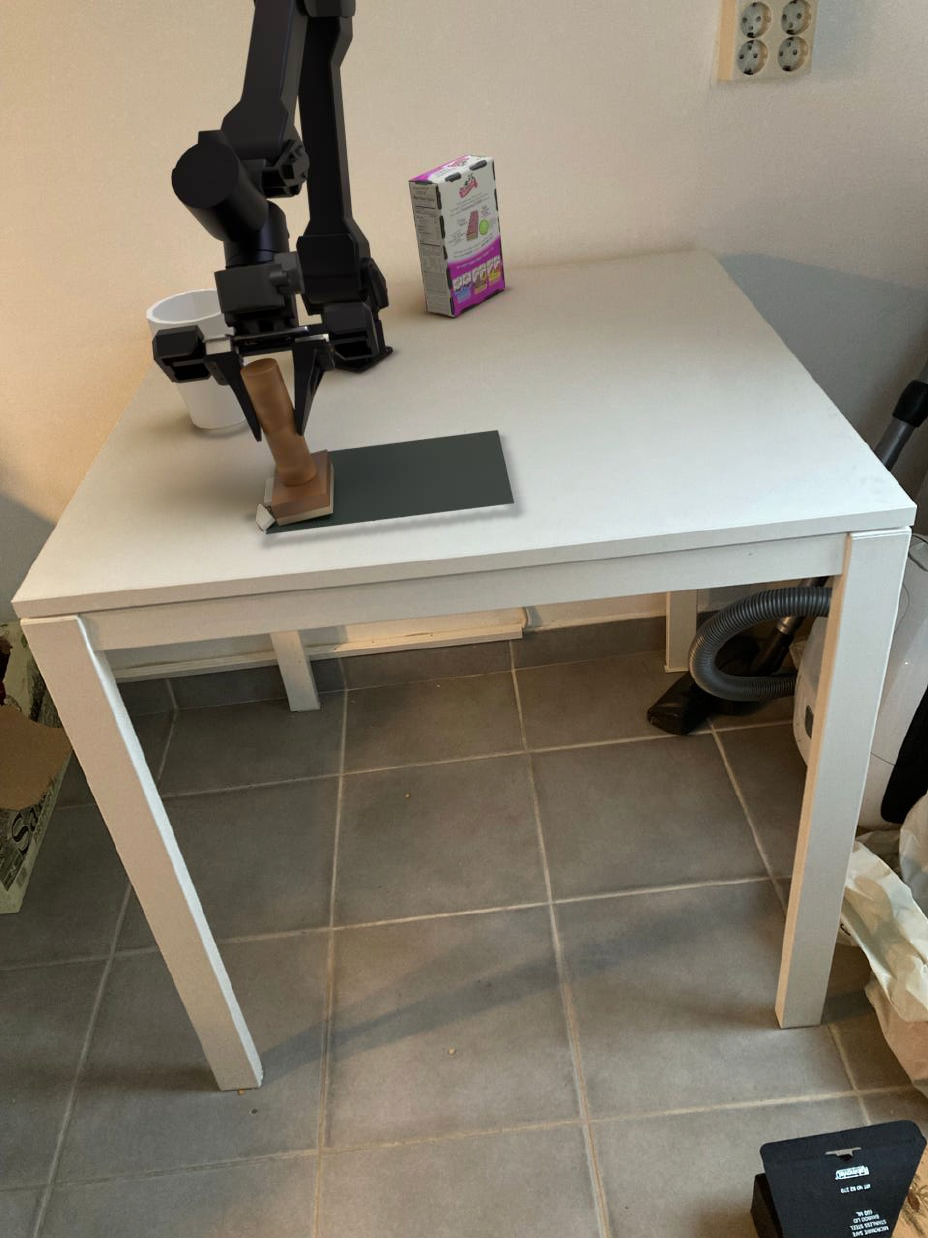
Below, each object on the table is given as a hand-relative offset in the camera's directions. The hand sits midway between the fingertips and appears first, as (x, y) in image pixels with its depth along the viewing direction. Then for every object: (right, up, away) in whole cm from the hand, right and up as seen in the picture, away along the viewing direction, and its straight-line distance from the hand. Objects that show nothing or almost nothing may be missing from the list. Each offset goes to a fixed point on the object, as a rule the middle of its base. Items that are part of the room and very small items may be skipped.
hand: (279, 437), depth 84 cm
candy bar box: (+16, +26, +44) cm, 54 cm away
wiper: (+2, -4, +6) cm, 7 cm away
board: (+9, -3, +8) cm, 12 cm away
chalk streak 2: (-2, -7, +4) cm, 8 cm away
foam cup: (-10, +6, +23) cm, 25 cm away
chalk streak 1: (-2, -4, +7) cm, 8 cm away
